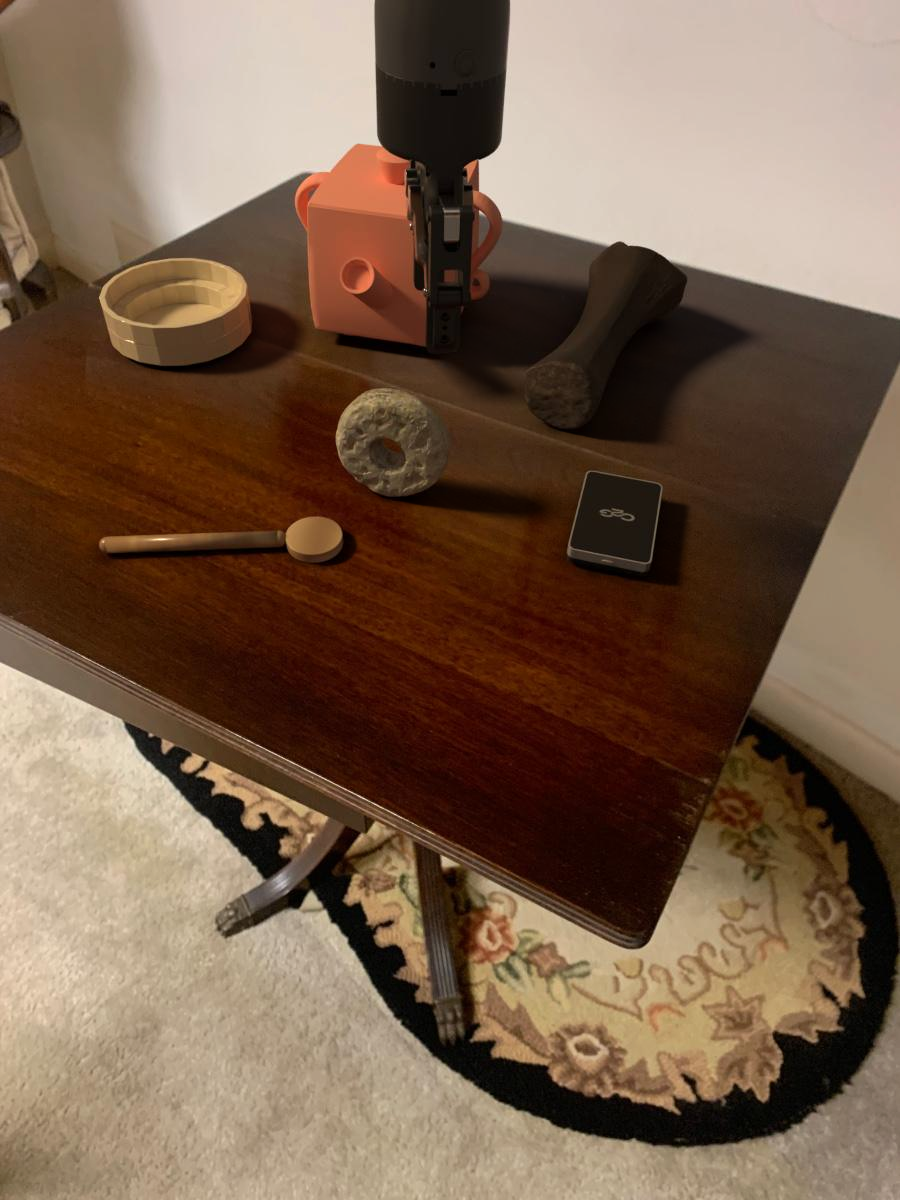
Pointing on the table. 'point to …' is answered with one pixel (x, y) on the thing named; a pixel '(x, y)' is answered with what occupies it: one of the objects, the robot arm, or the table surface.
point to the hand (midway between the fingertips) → (435, 318)
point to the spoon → (242, 541)
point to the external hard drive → (615, 523)
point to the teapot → (374, 247)
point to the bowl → (177, 311)
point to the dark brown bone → (602, 332)
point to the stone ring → (401, 423)
